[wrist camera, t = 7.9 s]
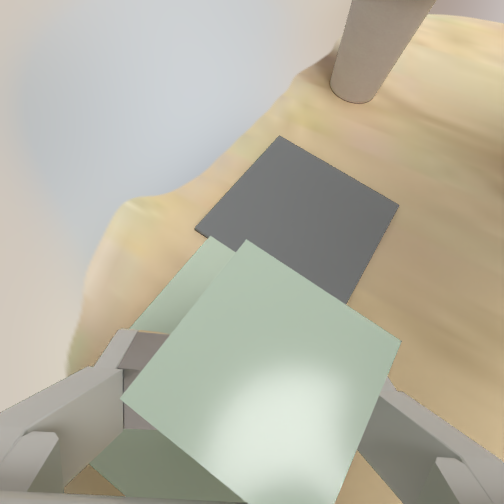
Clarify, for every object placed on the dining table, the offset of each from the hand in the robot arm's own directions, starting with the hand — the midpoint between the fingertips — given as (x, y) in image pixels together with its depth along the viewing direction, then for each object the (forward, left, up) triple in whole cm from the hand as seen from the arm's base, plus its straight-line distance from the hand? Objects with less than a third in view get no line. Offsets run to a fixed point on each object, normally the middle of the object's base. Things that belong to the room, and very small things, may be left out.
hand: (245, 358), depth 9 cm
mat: (-17, -3, -17) cm, 25 cm away
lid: (+1, 0, -5) cm, 5 cm away
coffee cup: (-40, -8, -18) cm, 45 cm away
